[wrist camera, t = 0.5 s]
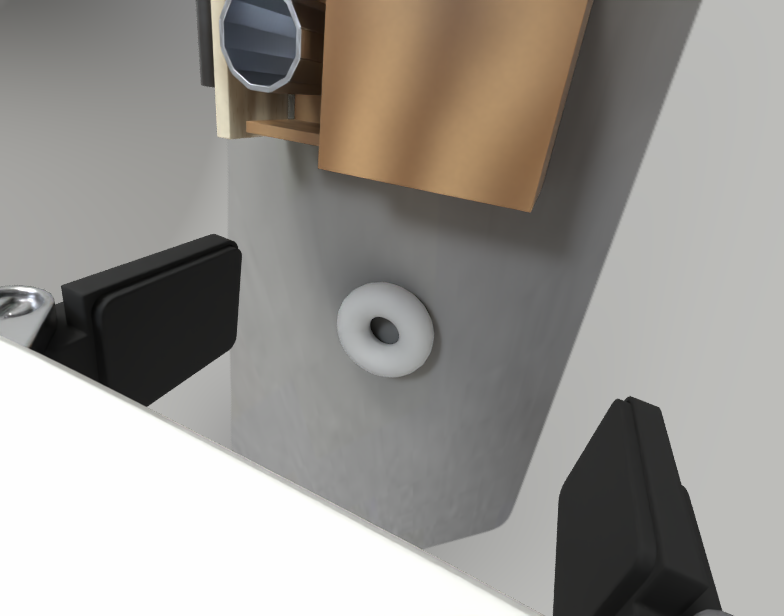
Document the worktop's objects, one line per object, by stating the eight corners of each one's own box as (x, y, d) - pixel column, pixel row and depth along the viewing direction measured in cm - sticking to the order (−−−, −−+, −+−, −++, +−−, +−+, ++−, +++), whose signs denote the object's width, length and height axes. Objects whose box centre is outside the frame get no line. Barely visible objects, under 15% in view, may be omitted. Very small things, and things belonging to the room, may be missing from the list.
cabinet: (372, 155, 39) (317, 168, 31) (393, -53, 32) (330, -107, 24) (541, 188, 35) (530, 212, 27) (604, -42, 28) (615, -101, 20)
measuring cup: (297, 5, 34) (216, -24, 27) (367, 12, 33) (302, -17, 25) (295, 90, 37) (221, 85, 29) (359, 100, 35) (299, 97, 28)
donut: (450, 360, 44) (420, 266, 41) (442, 378, 41) (408, 279, 38) (365, 371, 49) (332, 287, 46) (351, 388, 46) (315, 300, 43)
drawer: (239, 125, 41) (174, 128, 35) (234, -55, 35) (155, -93, 29) (416, 158, 37) (380, 169, 30) (445, -43, 31) (408, -85, 24)
